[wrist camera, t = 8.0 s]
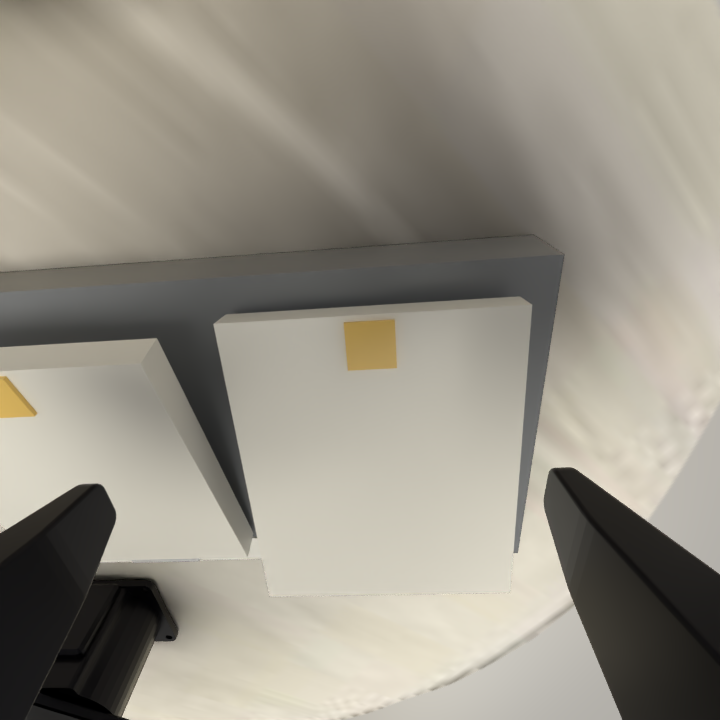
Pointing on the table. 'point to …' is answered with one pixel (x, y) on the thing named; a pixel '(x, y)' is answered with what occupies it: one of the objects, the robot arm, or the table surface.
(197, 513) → the rocker left
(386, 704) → the table surface
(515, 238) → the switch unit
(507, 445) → the rocker right
